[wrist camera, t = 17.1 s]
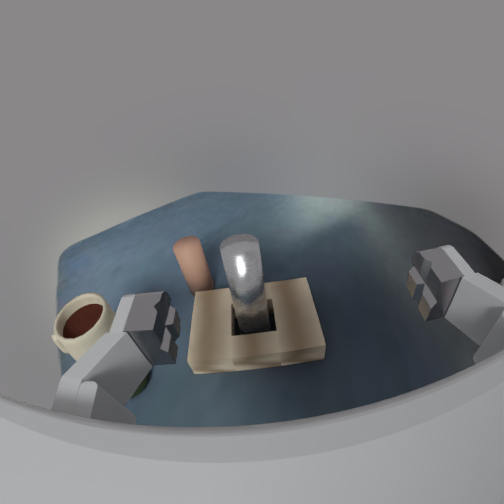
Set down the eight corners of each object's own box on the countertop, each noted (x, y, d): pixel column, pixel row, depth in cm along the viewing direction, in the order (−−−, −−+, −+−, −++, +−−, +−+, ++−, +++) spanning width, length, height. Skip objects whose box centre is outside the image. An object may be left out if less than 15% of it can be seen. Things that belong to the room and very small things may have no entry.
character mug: (165, 352, 35) (125, 281, 28) (170, 396, 30) (120, 330, 22) (98, 366, 34) (48, 302, 26) (96, 408, 28) (34, 348, 20)
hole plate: (306, 292, 41) (306, 277, 40) (324, 358, 32) (325, 344, 30) (200, 306, 42) (195, 291, 40) (194, 373, 32) (187, 361, 30)
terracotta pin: (204, 275, 47) (189, 232, 41) (219, 286, 45) (205, 242, 39) (186, 288, 45) (168, 247, 40) (200, 301, 43) (182, 258, 37)
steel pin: (269, 318, 38) (257, 231, 30) (272, 340, 35) (260, 253, 27) (240, 321, 38) (220, 237, 30) (241, 344, 35) (218, 259, 27)
